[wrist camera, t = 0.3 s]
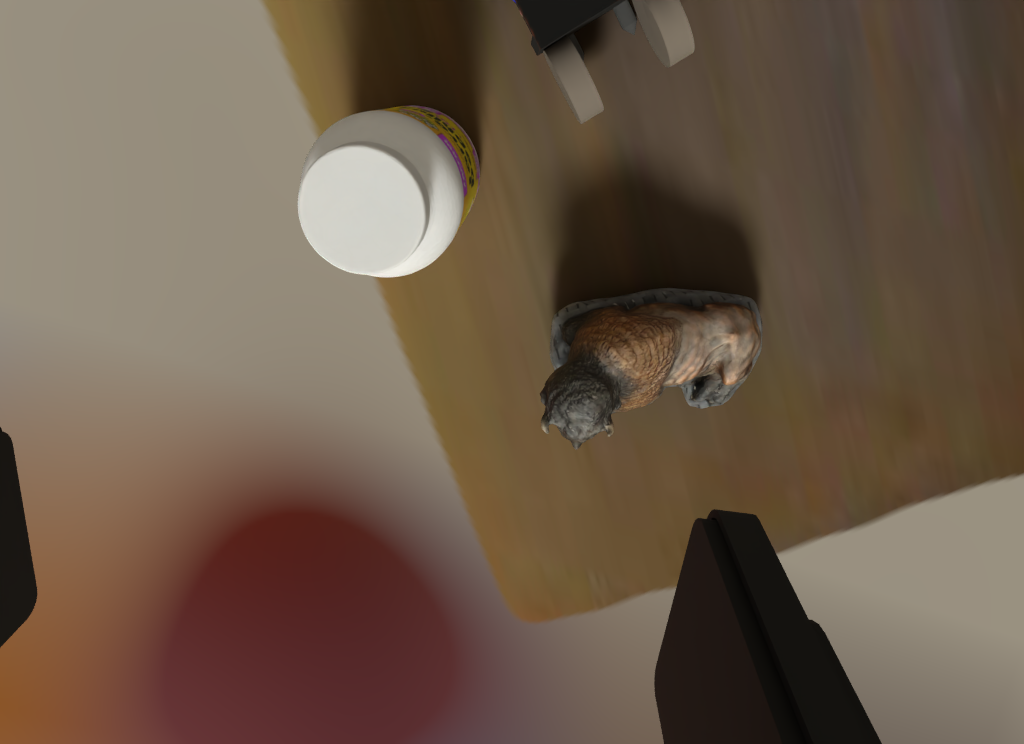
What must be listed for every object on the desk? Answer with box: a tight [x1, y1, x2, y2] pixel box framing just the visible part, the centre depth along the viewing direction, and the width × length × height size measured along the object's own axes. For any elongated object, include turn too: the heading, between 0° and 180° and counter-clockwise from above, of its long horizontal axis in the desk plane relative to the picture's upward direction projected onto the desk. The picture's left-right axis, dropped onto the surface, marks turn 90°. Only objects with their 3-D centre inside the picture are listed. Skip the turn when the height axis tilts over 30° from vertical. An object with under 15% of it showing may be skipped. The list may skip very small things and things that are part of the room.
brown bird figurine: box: [540, 288, 762, 450], centre depth 36 cm, size 12×7×10 cm, turn 98°
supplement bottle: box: [298, 105, 480, 277], centre depth 32 cm, size 7×7×13 cm
